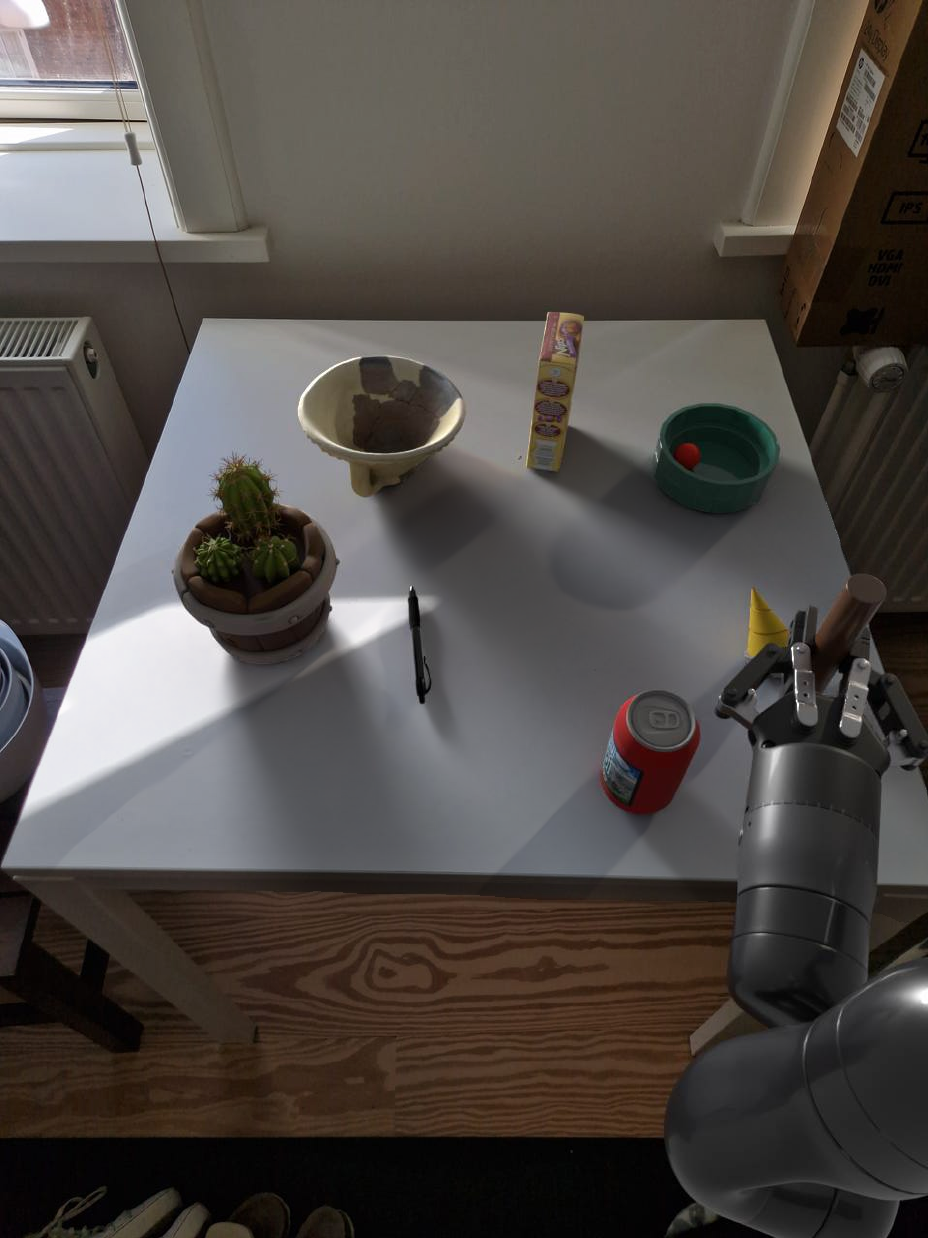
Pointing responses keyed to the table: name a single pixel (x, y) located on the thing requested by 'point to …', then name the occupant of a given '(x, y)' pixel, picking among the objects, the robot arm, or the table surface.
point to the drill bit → (764, 628)
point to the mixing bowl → (716, 457)
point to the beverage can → (649, 751)
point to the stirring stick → (844, 626)
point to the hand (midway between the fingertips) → (829, 618)
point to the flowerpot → (257, 570)
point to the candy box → (554, 390)
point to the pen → (418, 647)
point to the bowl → (381, 417)
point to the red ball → (687, 455)
